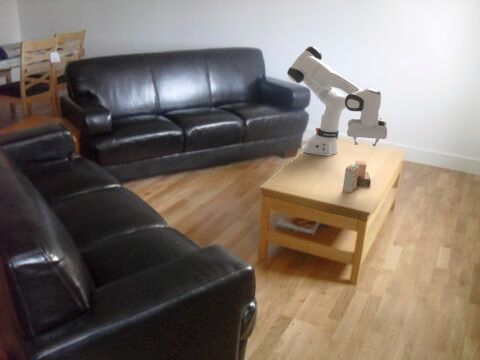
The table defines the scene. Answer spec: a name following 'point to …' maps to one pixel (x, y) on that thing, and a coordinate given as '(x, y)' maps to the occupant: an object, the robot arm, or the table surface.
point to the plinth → (364, 180)
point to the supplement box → (350, 178)
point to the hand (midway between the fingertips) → (364, 145)
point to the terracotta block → (361, 168)
